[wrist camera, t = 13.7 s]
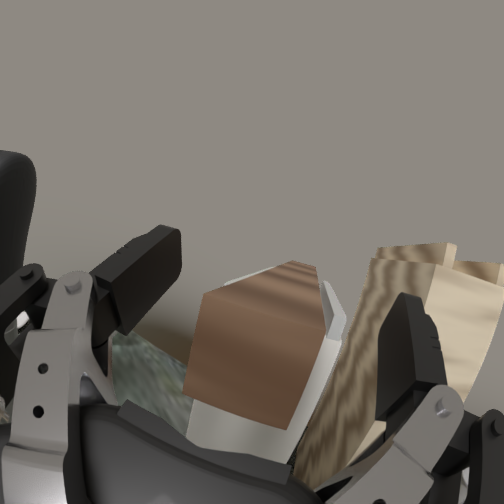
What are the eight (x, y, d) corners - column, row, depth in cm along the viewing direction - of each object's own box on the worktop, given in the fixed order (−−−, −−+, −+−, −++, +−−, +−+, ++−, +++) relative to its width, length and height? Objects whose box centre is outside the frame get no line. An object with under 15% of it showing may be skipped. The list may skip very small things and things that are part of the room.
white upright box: (239, 533, 16) (350, 318, 15) (171, 508, 18) (221, 281, 16) (271, 441, 36) (330, 282, 34) (224, 426, 38) (271, 265, 36)
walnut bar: (286, 430, 6) (326, 331, 6) (182, 393, 7) (203, 293, 6) (308, 290, 33) (315, 266, 33) (285, 283, 34) (292, 260, 34)
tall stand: (336, 548, 14) (511, 267, 12) (278, 542, 15) (441, 240, 13) (336, 455, 33) (419, 260, 32) (297, 447, 35) (374, 246, 33)
